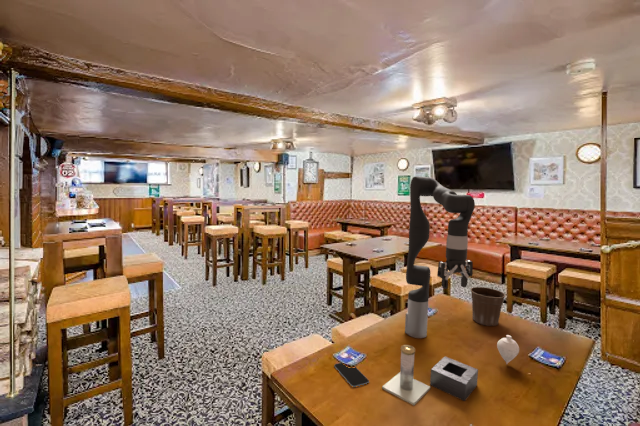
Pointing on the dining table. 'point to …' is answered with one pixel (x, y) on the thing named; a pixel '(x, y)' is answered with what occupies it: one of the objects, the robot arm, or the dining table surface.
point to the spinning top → (508, 348)
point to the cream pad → (407, 396)
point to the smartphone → (351, 375)
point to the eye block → (454, 378)
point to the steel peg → (407, 367)
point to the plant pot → (486, 305)
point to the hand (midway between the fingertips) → (454, 287)
